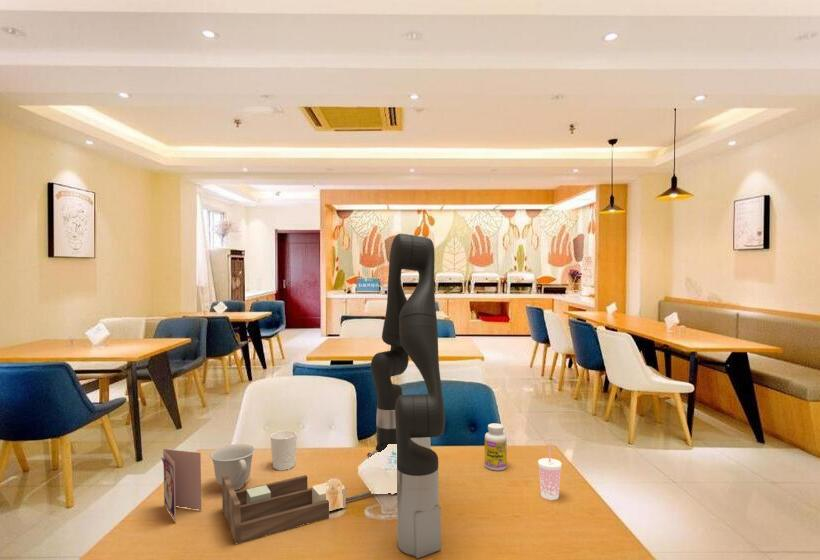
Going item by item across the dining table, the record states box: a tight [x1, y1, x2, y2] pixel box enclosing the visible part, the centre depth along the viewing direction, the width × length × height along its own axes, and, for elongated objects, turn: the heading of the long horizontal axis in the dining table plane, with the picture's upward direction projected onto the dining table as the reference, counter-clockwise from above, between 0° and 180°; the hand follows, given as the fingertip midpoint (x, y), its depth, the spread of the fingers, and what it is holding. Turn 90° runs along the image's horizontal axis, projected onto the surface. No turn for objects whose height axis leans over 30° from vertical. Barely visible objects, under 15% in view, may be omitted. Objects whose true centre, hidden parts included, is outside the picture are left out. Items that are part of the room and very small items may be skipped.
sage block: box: [245, 484, 271, 504], centre depth 120 cm, size 5×5×5 cm
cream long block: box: [311, 482, 373, 509], centre depth 125 cm, size 6×23×5 cm, turn 120°
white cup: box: [270, 430, 298, 471], centre depth 147 cm, size 8×8×10 cm
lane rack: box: [221, 474, 330, 545], centre depth 118 cm, size 18×22×9 cm
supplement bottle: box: [484, 422, 508, 472], centre depth 145 cm, size 7×7×13 cm
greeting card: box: [160, 448, 202, 523], centre depth 120 cm, size 11×7×15 cm, turn 40°
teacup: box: [209, 443, 256, 491], centre depth 132 cm, size 12×15×10 cm
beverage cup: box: [537, 443, 563, 501], centre depth 126 cm, size 6×6×14 cm
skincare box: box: [411, 437, 432, 450], centre depth 151 cm, size 6×4×12 cm
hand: (390, 485), depth 130 cm, fingers closed on cream long block, 2 cm apart
